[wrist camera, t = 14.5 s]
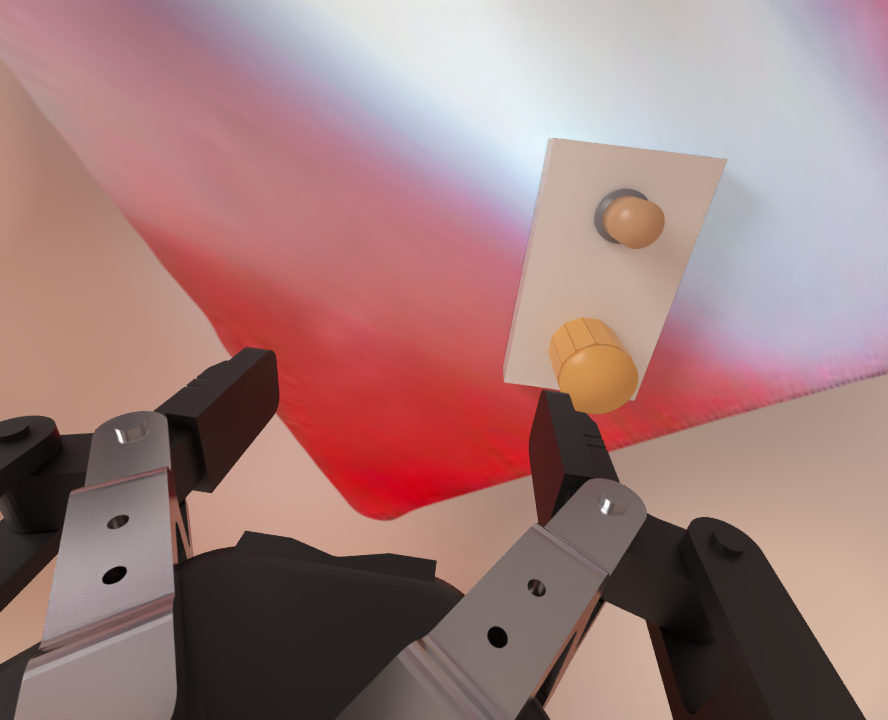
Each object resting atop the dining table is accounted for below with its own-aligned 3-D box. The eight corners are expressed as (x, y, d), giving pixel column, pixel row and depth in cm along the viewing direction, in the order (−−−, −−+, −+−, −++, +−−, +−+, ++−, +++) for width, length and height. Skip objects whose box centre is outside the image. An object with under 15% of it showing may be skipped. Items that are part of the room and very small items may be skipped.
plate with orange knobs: (548, 138, 32) (565, 136, 25) (706, 158, 31) (765, 161, 25) (503, 366, 41) (506, 409, 34) (624, 384, 41) (651, 430, 34)
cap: (557, 313, 35) (569, 343, 30) (624, 322, 35) (649, 354, 29) (543, 371, 37) (552, 408, 32) (605, 380, 37) (624, 418, 32)
